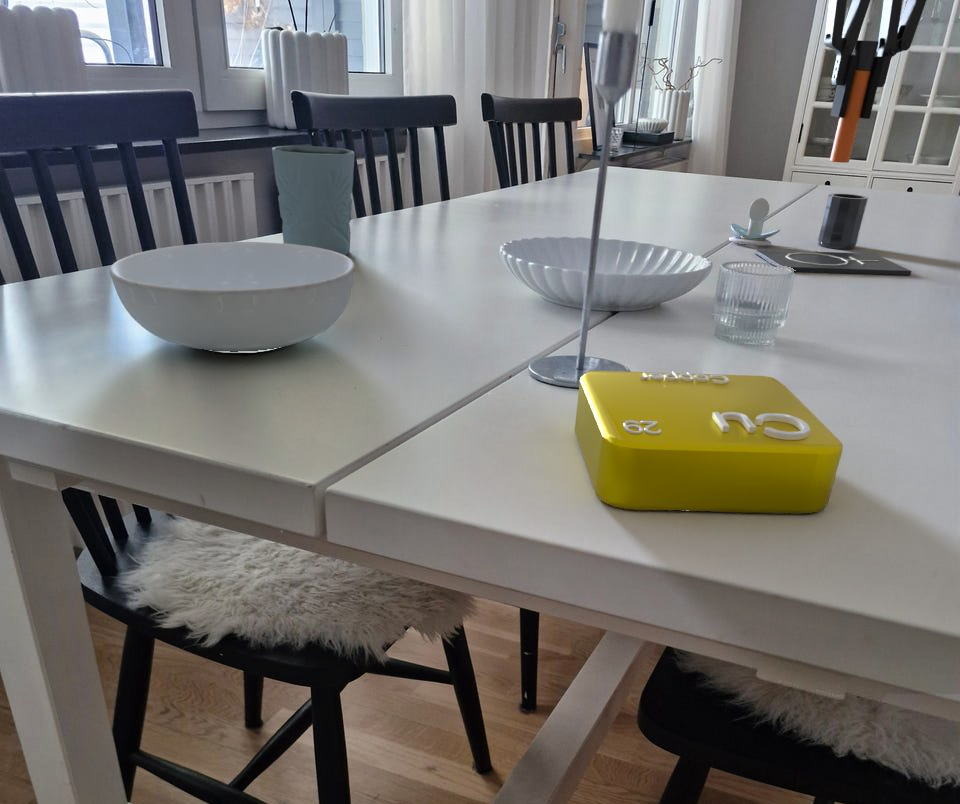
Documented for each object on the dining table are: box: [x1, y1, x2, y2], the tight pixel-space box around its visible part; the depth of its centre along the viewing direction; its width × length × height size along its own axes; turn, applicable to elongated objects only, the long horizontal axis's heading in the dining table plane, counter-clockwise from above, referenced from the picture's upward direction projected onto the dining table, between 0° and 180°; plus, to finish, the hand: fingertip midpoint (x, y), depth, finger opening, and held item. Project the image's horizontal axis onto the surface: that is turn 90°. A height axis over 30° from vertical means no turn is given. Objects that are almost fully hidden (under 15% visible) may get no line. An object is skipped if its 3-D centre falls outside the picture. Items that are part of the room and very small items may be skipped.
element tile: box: [574, 370, 844, 515], centre depth 60 cm, size 15×15×5 cm
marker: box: [829, 39, 879, 164], centre depth 112 cm, size 3×3×13 cm
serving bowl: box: [109, 241, 356, 352], centre depth 81 cm, size 21×21×7 cm
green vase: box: [271, 145, 356, 256], centre depth 115 cm, size 10×10×12 cm
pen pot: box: [817, 192, 869, 250], centre depth 137 cm, size 6×6×7 cm
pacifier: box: [728, 197, 781, 247], centre depth 135 cm, size 7×6×6 cm
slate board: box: [754, 249, 913, 276], centre depth 126 cm, size 18×12×1 cm, turn 93°
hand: (849, 116), depth 113 cm, fingers closed on marker, 3 cm apart
